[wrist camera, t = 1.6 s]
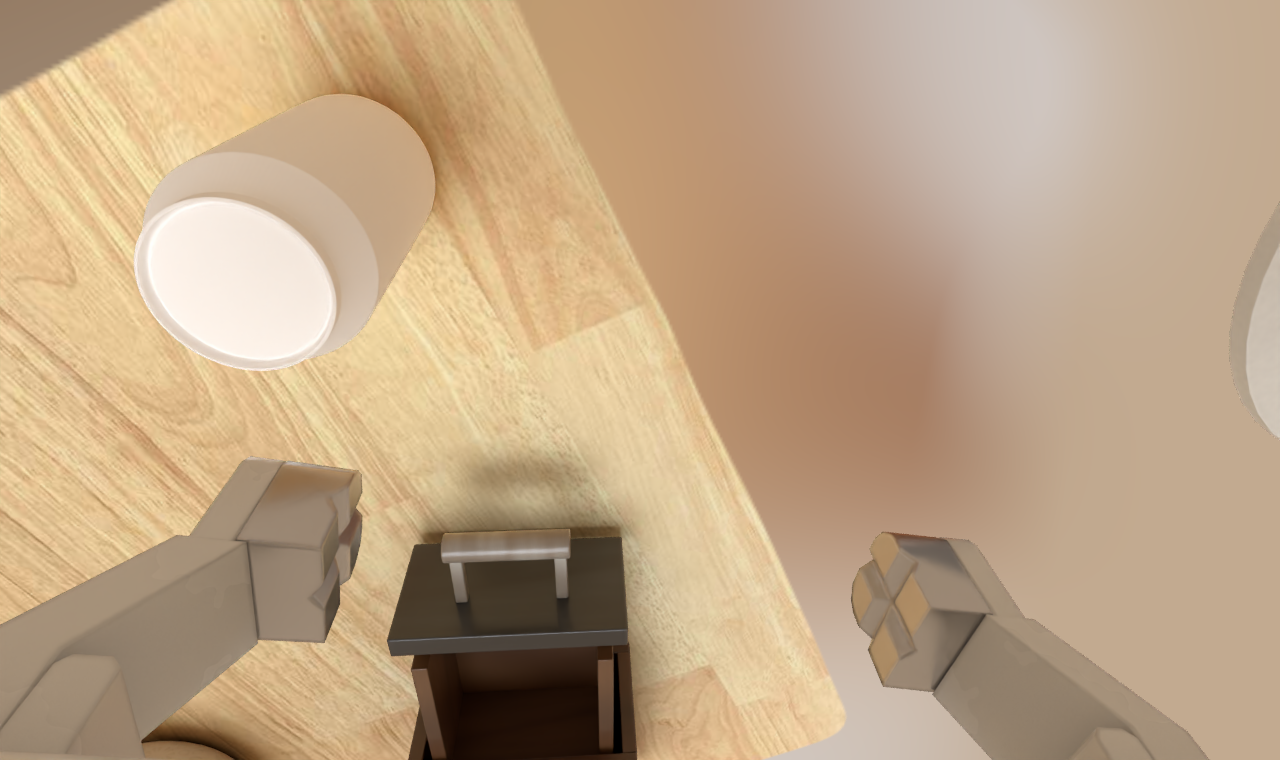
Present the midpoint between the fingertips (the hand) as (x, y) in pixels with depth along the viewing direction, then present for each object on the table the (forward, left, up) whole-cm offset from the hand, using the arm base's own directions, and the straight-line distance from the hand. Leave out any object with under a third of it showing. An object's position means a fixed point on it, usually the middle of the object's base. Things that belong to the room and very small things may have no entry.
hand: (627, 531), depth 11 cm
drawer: (+5, +24, -20) cm, 32 cm away
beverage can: (+10, 0, -21) cm, 24 cm away
